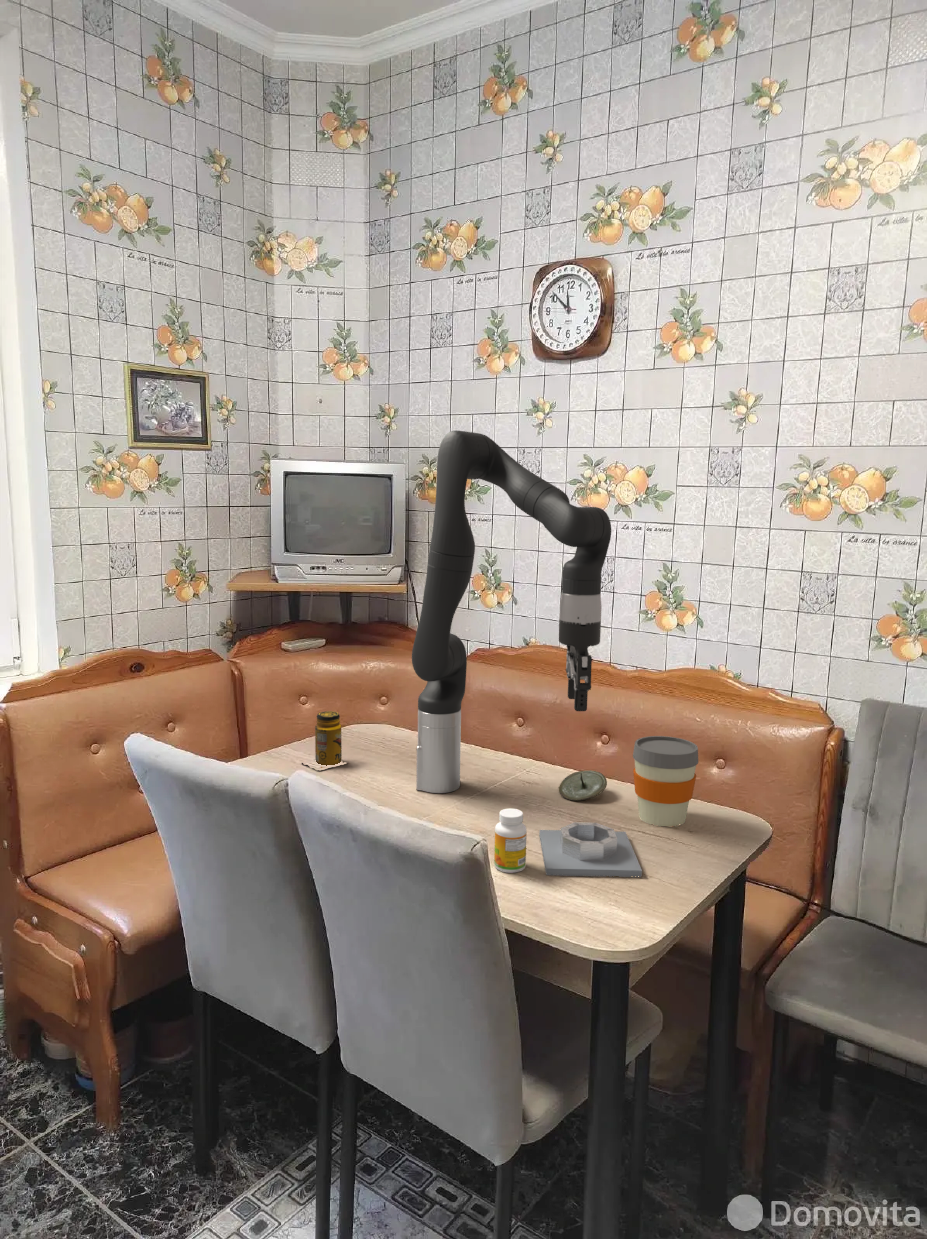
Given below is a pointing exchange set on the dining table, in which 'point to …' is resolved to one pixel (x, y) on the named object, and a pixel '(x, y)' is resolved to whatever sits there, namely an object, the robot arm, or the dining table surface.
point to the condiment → (328, 738)
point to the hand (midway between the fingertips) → (576, 704)
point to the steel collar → (588, 841)
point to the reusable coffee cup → (664, 778)
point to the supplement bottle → (510, 841)
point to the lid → (582, 785)
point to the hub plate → (569, 866)
